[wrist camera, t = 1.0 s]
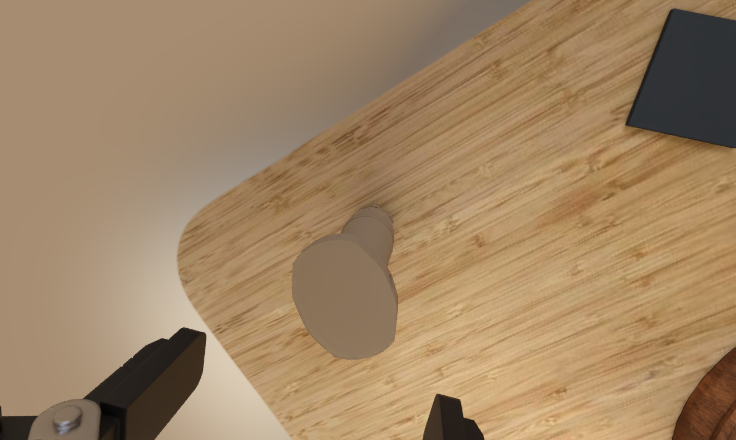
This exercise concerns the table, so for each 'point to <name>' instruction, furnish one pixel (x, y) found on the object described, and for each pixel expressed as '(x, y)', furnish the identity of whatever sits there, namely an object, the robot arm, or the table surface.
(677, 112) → the place mat
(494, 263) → the table surface
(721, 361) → the cutting board
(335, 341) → the handle
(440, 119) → the table surface
